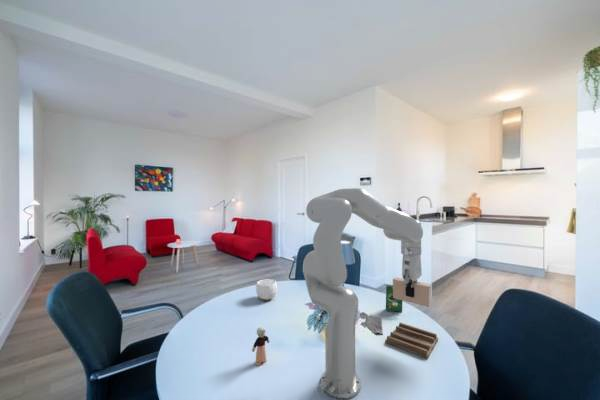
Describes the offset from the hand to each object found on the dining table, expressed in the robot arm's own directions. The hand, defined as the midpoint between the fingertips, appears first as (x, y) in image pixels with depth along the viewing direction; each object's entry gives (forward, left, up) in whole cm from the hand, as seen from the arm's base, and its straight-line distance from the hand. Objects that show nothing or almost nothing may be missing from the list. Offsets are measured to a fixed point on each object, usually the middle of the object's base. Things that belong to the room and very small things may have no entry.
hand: (411, 294), depth 104 cm
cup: (-8, +79, -20) cm, 82 cm away
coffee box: (+24, +16, -20) cm, 35 cm away
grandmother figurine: (-47, +38, -20) cm, 64 cm away
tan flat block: (0, 0, -3) cm, 3 cm away
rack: (+1, 0, -20) cm, 20 cm away
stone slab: (+4, +19, -20) cm, 28 cm away
